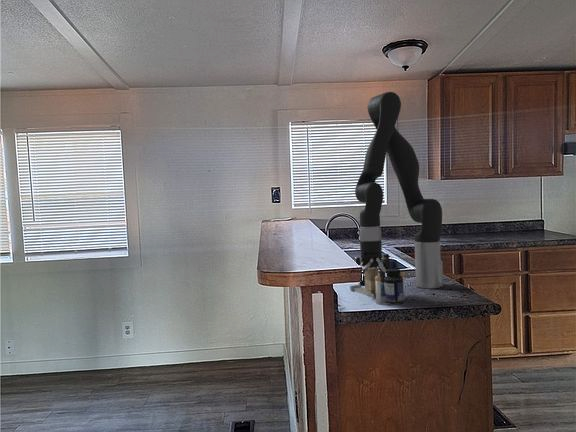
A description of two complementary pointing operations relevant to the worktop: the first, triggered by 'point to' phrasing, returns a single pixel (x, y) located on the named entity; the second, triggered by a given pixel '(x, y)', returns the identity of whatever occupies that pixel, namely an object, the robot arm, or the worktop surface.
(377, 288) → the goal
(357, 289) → the rail
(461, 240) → the worktop surface
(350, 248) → the worktop surface
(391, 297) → the pill bottle
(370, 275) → the kicker
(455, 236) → the worktop surface
